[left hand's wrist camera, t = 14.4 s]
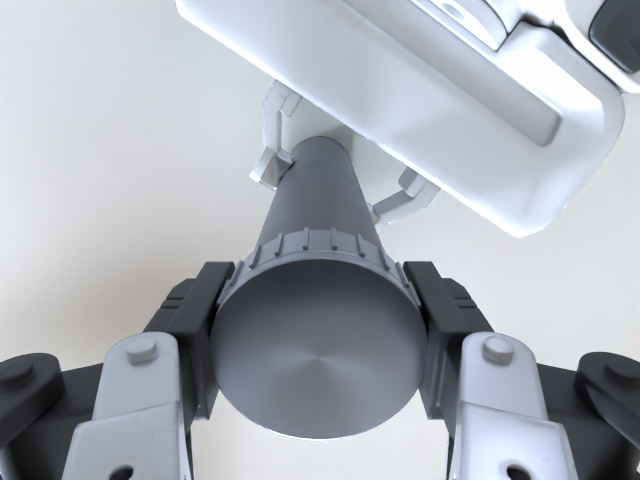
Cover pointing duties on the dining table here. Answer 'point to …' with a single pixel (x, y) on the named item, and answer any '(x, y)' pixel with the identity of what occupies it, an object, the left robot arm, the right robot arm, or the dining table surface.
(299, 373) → the lid
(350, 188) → the grey cylinder
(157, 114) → the dining table surface
